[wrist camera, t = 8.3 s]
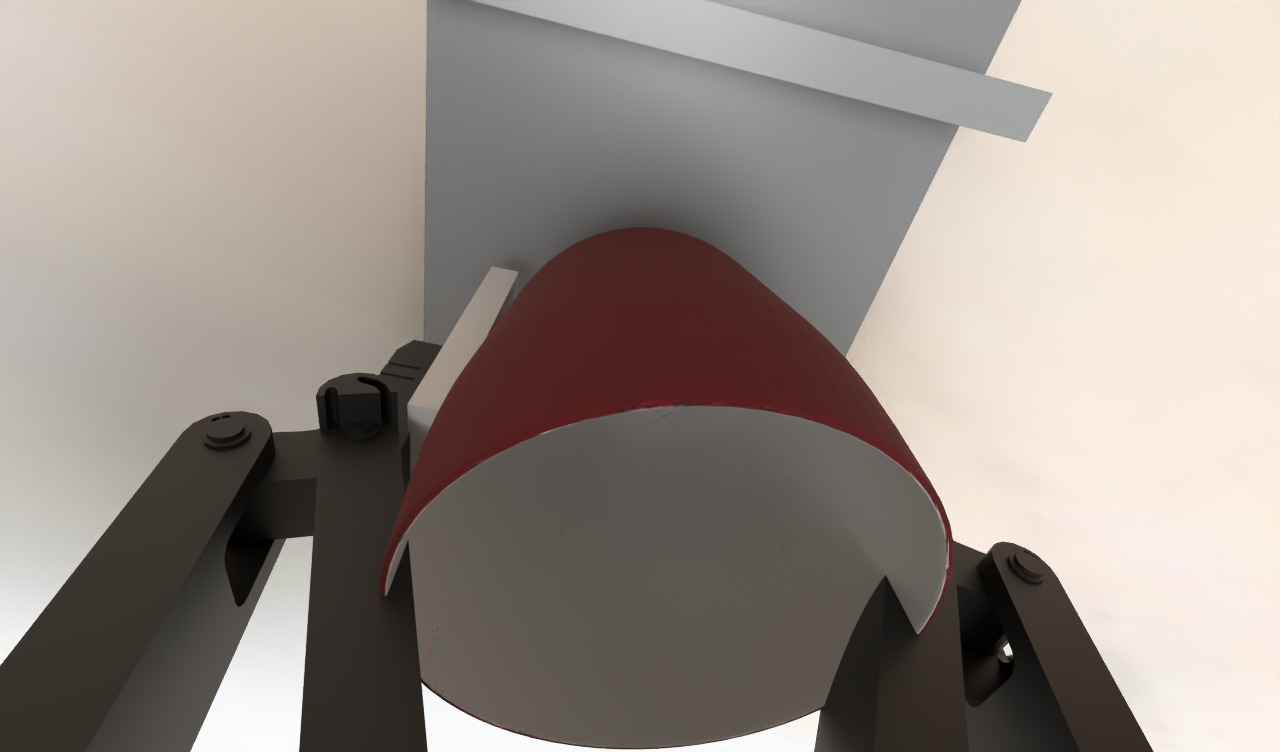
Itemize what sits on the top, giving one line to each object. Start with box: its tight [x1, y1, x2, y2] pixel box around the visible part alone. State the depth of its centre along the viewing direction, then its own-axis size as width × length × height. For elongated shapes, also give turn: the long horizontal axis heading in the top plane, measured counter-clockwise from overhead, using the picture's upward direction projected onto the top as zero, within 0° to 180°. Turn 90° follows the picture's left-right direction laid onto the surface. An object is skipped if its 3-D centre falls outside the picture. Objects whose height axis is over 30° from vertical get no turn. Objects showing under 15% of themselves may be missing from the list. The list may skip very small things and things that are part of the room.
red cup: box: [379, 227, 953, 749], centre depth 13 cm, size 10×8×10 cm
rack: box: [424, 0, 1053, 357], centre depth 13 cm, size 14×33×4 cm, turn 168°
